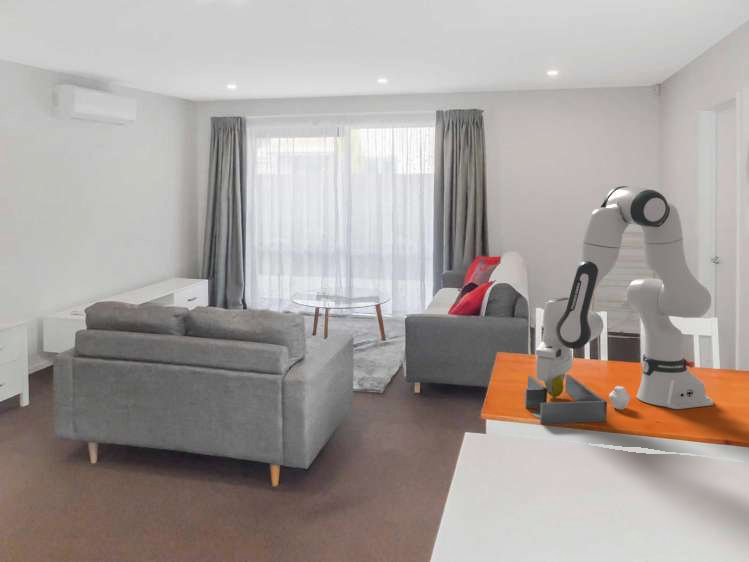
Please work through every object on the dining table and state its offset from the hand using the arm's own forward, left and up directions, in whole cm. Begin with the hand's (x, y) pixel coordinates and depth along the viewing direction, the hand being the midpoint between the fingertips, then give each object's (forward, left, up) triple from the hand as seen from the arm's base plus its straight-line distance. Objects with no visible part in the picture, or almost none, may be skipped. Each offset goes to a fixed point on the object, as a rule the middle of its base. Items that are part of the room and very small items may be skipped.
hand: (554, 388), depth 198 cm
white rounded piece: (-17, +11, -3) cm, 20 cm away
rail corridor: (+2, +8, -3) cm, 9 cm away
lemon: (0, 0, -3) cm, 3 cm away
